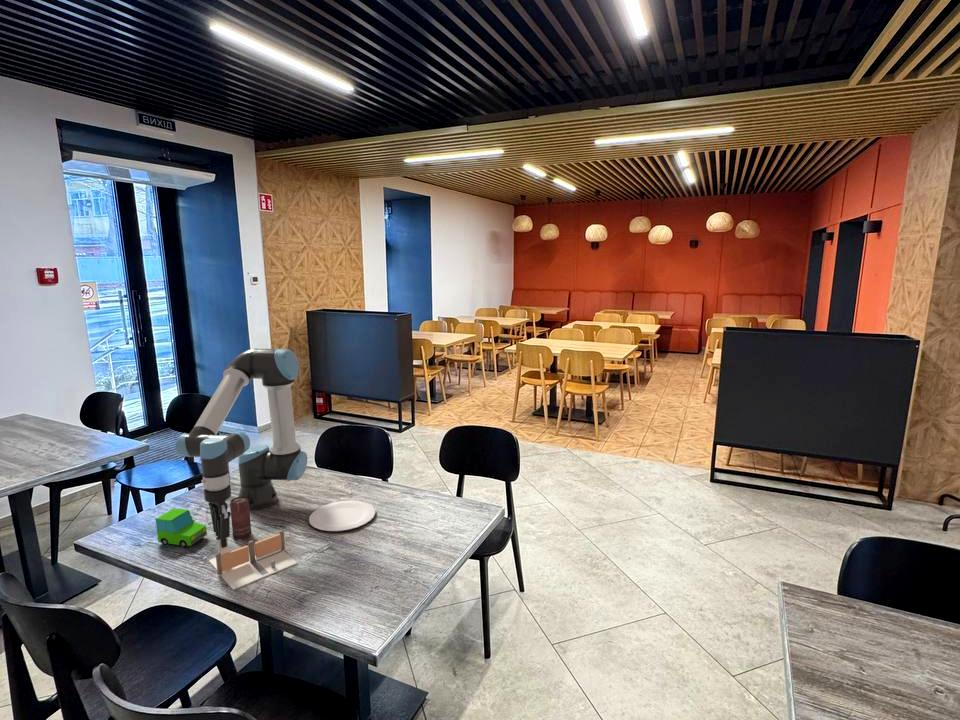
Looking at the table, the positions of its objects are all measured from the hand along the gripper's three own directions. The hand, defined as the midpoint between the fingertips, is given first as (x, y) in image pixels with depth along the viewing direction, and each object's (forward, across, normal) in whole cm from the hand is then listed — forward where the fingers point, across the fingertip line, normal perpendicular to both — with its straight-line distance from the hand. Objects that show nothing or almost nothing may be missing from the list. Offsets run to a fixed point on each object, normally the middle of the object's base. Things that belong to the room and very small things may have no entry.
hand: (223, 555), depth 166 cm
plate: (+4, -2, +44) cm, 44 cm away
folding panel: (+3, +5, +1) cm, 6 cm away
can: (+4, -15, +11) cm, 19 cm away
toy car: (+4, -26, -5) cm, 27 cm away
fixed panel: (+3, +5, +12) cm, 13 cm away
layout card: (+4, +5, +7) cm, 9 cm away
